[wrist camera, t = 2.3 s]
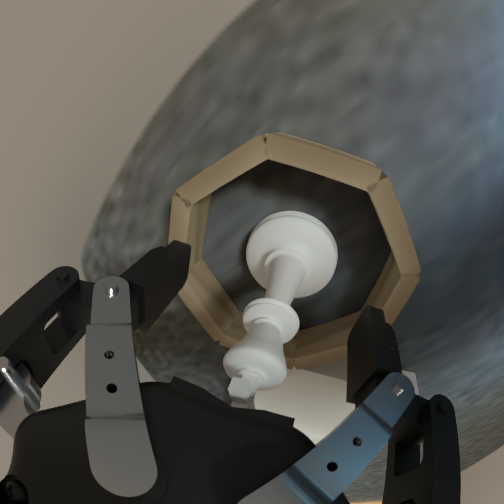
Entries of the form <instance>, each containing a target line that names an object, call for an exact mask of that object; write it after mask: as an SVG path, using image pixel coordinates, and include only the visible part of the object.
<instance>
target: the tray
mask: <svg viewBox="0 0 504 504" xmlns="http://www.w3.org/2000/svg"><path fill="white" fill-rule="evenodd" d="M402 374H404V375H405V376H407V377H408V378H409V379H410V380H411V382H412V383H413V386H414V389H415V394H417V395H419V393H418V387H417V381H416V375H415V373H414V372H409V371H405V370H402ZM346 392H347V358H344V359H340V360H337V361H333V362H329V363H325V364H321V365H317V366H313V367H308V368H304V369H300V370H297V369H296V368H295V366H293V368H292V370H291V369H287V375H286V379H285V381H284V382H283V383H282V384H281V385H280V386H278V387H276V388H274V389H270V390H257V391H256V394H255V397H254V405H255V409H257V410H266V411H270V412H273V413H277V414H280V415H284V416H288V417H292V418H295V421H294V425H293V427H294V428H296V429H298V430H299V431H301V432H303V433H304V434H305V435H306V436H307V437H309V439H310V440H311V441H312V442H313V443H314V444H315V445H316V444H317V443H318V442H319V441H320V440H322V439H323V438H324V437H325V436H326V435H327V434H329V433H330V432H331V431H332V430H333V429H334V428H335V427H336V426H337V425H339V424H340V423H341V422H342V421H343V420H344V419H345V418H346V417H347V416H348V415H349V414H350V413H351V412H352V411H353V410H354V409H355V404H352V403H347V402H346Z"/></svg>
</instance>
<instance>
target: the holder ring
mask: <svg viewBox="0 0 504 504" xmlns="http://www.w3.org/2000/svg"><path fill="white" fill-rule="evenodd" d="M267 159H270V160H273V161H277V162H280V163H284V164H287V165H290V166H294V167H297V168H300V169H304V170H307V171H310V172H313V173H316V174H319V175H322V176H325V177H328V178H331V179H334V180H337V181H340V182H343V183H345V184H348V185H351V186H354V187H356V188H359V189H362V190H364V191H367V193H368V195H369V197H370V200H371V202H372V204H373V206H374V209H375V211H376V213H377V216H378V218H379V221H380V223H381V225H382V228H383V230H384V233H385V235H386V238H387V241H388V243H389V246H390V249H391V251H392V252H391V254H390V256H389V258H388V260H387V262H386V264H385V266H384V268H383V270H382V272H381V274H380V276H379V278H378V280H377V282H376V284H375V285H374V287H373V289H372V291H371V293H370V295H369V296H368V298H367V300H366V302H365V304H364V305H363V307H362V309H361V311H358V312H355V313H353V314H350V315H347V316H344V317H341V318H338V319H335V320H332V321H329V322H326V323H322V324H319V325H316V326H313V327H310V328H306V329H303V330H300V331H299V330H298V331H297V333H296V334H295V336H294V337H293V338H292V339H291V340H290V341H288V342H286V343H284V344H283V353H284V357H285V360H286V366H287V369H291V370H292V368H293V366H295V368H296V369H297V370H300V369H304V368H308V367H313V366H317V365H321V364H325V363H329V362H333V361H337V360H340V359H344V358H347V341H348V336H349V334H350V331H351V329H352V328H353V326H354V324H355V323H356V321H357V319H358V318H359V316H360V314H361V313H362V311H363V309H364V308H365V307H366V306H367V305H370V306H373V307H376V308H379V309H382V310H383V311H384V316H385V321H386V323H389V324H390V325H391V326H392V324H393V323H394V321H395V320H396V318H397V317H398V315H399V314H400V312H401V310H402V309H403V307H404V306H405V304H406V303H407V301H408V299H409V298H410V296H411V294H412V293H413V291H414V289H415V288H416V286H417V284H418V282H419V281H420V279H421V278H420V276H419V274H418V273H420V272H422V271H421V267H420V264H419V260H418V257H417V254H416V250H415V247H414V244H413V241H412V238H411V235H410V232H409V229H408V226H407V223H406V220H405V218H404V215H403V212H402V209H401V207H400V204H399V202H398V199H397V197H396V194H395V192H394V189H393V187H392V185H391V182H390V180H389V178H388V176H387V175H386V174H385V173H383V172H382V170H381V169H379V168H378V167H377V166H376V165H375V164H374V163H372V162H370V161H368V160H365V159H362V158H360V157H357V156H354V155H351V154H349V153H346V152H343V151H340V150H337V149H334V148H331V147H328V146H325V145H322V144H319V143H316V142H312V141H309V140H306V139H302V138H299V137H295V136H292V135H288V134H285V133H281V132H276V133H268V134H261V135H258V136H257V137H255V138H253V139H252V140H250V141H248V142H247V143H245V144H244V145H242V146H240V147H239V148H237V149H236V150H234V151H232V152H231V153H229V154H228V155H226V156H225V157H223V158H221V159H220V160H218V161H217V162H215V163H214V164H212V165H211V166H209V167H208V168H206V169H205V170H204V171H202V172H201V173H199V174H198V175H196V176H195V177H193V178H192V179H191V180H189V181H188V182H186V183H185V184H183V185H182V186H181V187H179V188H178V189H177V190H176V191H177V194H175V195H173V197H172V206H171V216H170V227H169V240H168V245H169V244H170V243H171V242H172V241H173V240H178V241H181V242H183V243H186V244H189V245H191V256H190V264H189V273H188V278H187V280H186V283H185V285H184V286H183V288H182V289H181V290H180V291H179V292H178V295H179V297H180V298H181V299H182V301H183V302H184V303H185V305H186V306H187V307H188V309H189V310H190V311H191V312H192V314H193V315H194V316H195V318H196V319H197V320H198V322H199V323H200V324H201V325H202V327H203V328H204V329H205V330H206V332H207V333H208V334H209V335H210V337H211V338H212V339H213V340H214V342H215V341H219V340H220V343H219V345H221V346H224V347H226V348H229V349H230V348H231V347H232V346H233V345H235V344H236V343H237V342H239V341H240V340H241V339H242V338H243V337H244V336H245V335H246V334H247V331H246V330H245V328H244V325H243V311H240V310H238V309H237V307H236V306H235V305H234V303H233V302H232V300H231V299H230V298H229V296H228V295H227V293H226V292H225V290H224V289H223V288H222V286H221V285H220V283H219V282H218V280H217V279H216V277H215V276H214V275H213V273H212V272H211V270H210V269H209V267H208V266H207V264H206V263H205V261H204V260H203V258H202V252H203V245H204V239H205V232H206V226H207V220H208V214H209V208H210V202H211V196H212V192H213V191H215V190H216V189H218V188H220V187H221V186H223V185H225V184H226V183H228V182H229V181H231V180H233V179H234V178H236V177H238V176H239V175H241V174H243V173H244V172H246V171H248V170H250V169H251V168H253V167H255V166H256V165H258V164H260V163H262V162H263V161H265V160H267Z"/></svg>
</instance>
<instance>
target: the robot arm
mask: <svg viewBox="0 0 504 504" xmlns="http://www.w3.org/2000/svg"><path fill="white" fill-rule="evenodd" d="M190 256H191V245H189V244H186V243H183V242H181V241H178V240H173V241H172V242H171V243H170V244H169V245H167V246H166V247H162V246H161V247H158V248H155V249H152V250H150V251H149V252H148V253H147V254H146V255H144V257H142V258H141V259H139V261H137V262H136V263H135V264H133V265H132V266H131V267H130V268H129V269H127V270H126V271H125V272H124V273H123V274H122V275H120V276H119V277H118V276H107V277H103V278H101V279H99V280H98V281H97V282H96V283H92V282H87V281H82V280H80V279H79V274H78V271H77V270H76V269H75V268H73V267H69V266H63V267H58V268H56V269H54V270H53V271H51V272H50V273H49V274H47V275H46V276H45V277H44V278H43V279H41V280H40V281H39V282H38V283H37V284H35V285H34V286H33V287H32V288H31V289H29V290H28V291H27V292H26V293H25V294H24V295H23V296H21V297H20V298H19V299H18V300H17V301H16V302H15V303H14V304H13V305H12V306H10V307H9V308H8V309H7V310H6V311H5V312H4V313H3V314H2V315H1V316H0V425H1V426H2V427H3V429H5V430H6V432H7V433H8V434H9V435H10V436H12V437H13V438H14V446H13V456H12V461H11V465H10V468H9V471H8V474H7V475H6V476H5V478H4V479H3V480H2V481H1V482H0V504H350V503H349V502H348V500H347V498H346V497H345V495H344V493H343V491H344V490H345V489H346V488H347V487H348V486H349V485H350V484H351V483H352V482H353V481H354V480H355V479H356V477H357V476H358V475H359V474H360V473H361V472H362V471H363V470H364V469H365V468H366V466H367V465H368V464H369V463H370V462H371V461H372V460H373V458H374V457H375V456H376V455H377V454H378V452H379V451H380V450H381V449H382V447H383V446H384V445H385V444H386V442H387V441H388V457H387V469H386V479H385V487H384V495H383V501H382V504H460V492H461V489H460V488H461V483H460V481H461V478H460V455H459V443H458V433H457V425H456V418H455V411H454V407H453V405H452V403H451V401H450V400H449V399H448V398H447V397H445V396H444V395H441V394H437V395H434V396H433V397H432V398H431V399H430V400H427V399H425V398H423V397H421V396H419V395H417V394H415V389H414V386H413V383H412V382H411V380H410V379H409V378H408V377H407V376H405V375H404V374H402V368H401V362H400V357H399V351H398V346H397V343H396V342H397V341H396V336H395V332H394V330H393V329H392V327H391V325H390V324H389V323H386V321H385V316H384V311H383V310H382V309H379V308H376V307H373V306H370V305H367V306H366V307H365V308H364V309H363V311H362V313H361V314H360V316H359V318H358V319H357V321H356V323H355V324H354V326H353V328H352V329H351V331H350V334H349V336H348V341H347V392H346V402H347V403H352V404H355V409H354V410H353V411H352V412H351V413H350V414H349V415H348V416H347V417H346V418H345V419H344V420H343V421H342V422H341V423H340V424H339V425H337V426H336V427H335V428H334V429H333V430H332V431H331V432H330V433H329V434H327V435H326V436H325V437H324V438H323V439H322V440H320V441H319V442H318V443H317V444H316V445H315V444H314V443H313V442H312V441H311V440H310V439H309V437H307V436H306V435H305V434H304V433H303V432H301V431H299V430H298V429H296V428H294V427H293V425H294V421H295V418H292V417H288V416H284V415H280V414H277V413H273V412H270V411H266V410H257V409H247V408H237V407H232V406H229V405H228V404H226V403H224V402H223V401H221V400H220V399H218V398H217V397H215V396H214V395H212V394H211V393H209V392H208V391H206V390H205V389H203V388H201V387H199V386H196V385H194V384H191V383H189V382H187V381H184V380H182V379H180V378H178V377H175V376H174V377H173V379H172V381H171V382H170V383H165V382H144V383H140V380H139V375H138V368H137V361H136V353H135V345H134V336H133V333H134V332H135V330H136V329H137V328H139V329H141V330H143V331H145V332H147V330H148V329H149V328H150V327H151V325H152V324H153V323H154V322H155V320H156V319H157V318H158V317H159V316H160V314H161V313H162V312H163V311H164V309H165V308H166V307H167V306H168V305H169V303H170V302H171V301H172V300H173V298H174V297H175V296H176V295H177V294H178V292H179V291H180V290H181V289H182V288H183V286H184V285H185V283H186V280H187V278H188V273H189V264H190ZM56 313H57V314H58V317H57V318H56V319H55V320H54V321H53V322H52V323H51V324H50V325H49V326H48V327H47V328H46V329H45V330H44V327H45V325H46V323H47V322H48V321H49V320H50V319H51V318H52V317H53V316H54V315H55V314H56ZM85 333H86V341H85V395H86V400H82V401H79V402H75V403H71V404H67V405H63V406H59V407H55V408H51V409H46V410H41V411H38V410H39V409H40V401H41V390H40V389H41V388H42V386H43V385H44V384H45V383H46V381H47V380H48V379H49V377H50V376H51V375H52V374H53V372H54V371H55V370H56V368H57V367H58V366H59V365H60V363H61V362H62V361H63V360H64V358H65V357H66V356H67V355H68V354H69V352H70V351H71V350H72V349H73V347H74V346H75V345H76V344H77V343H78V341H79V340H80V339H81V338H82V337H83V336H84V335H85ZM422 442H423V460H422V462H421V464H420V444H421V443H422Z"/></svg>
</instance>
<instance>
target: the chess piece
mask: <svg viewBox="0 0 504 504" xmlns="http://www.w3.org/2000/svg"><path fill="white" fill-rule="evenodd" d="M246 260H247V265H248V268H249V270H250V272H251V274H252V276H253V277H254V279H255V280H256V281H257V282H258V283H259V284H260V285H261V286H262V287H263V288H265V289H266V294H265V298H260V299H256V300H254V301H252V302H250V303H249V304H248V305H247V306H246V308H245V309H244V312H243V325H244V328H245V330H246V331H247V334H246V335H245V336H244V337H243V338H242V339H241V340H240V341H239V342H237V343H236V344H235V345H233V346H232V347H231V348H230V349H229V350H228V351H227V353H226V354H225V356H224V358H223V367H224V370H225V372H226V373H227V375H228V376H229V377H230V378H231V379H232V380H231V382H230V385H229V387H228V391H229V394H230V397H231V400H232V403H231V405H230V406H232V407H237V408H247V409H255V405H254V397H255V394H256V391H257V390H270V389H274V388H276V387H278V386H280V385H281V384H282V383H283V382H284V381H285V379H286V375H287V366H286V360H285V357H284V353H283V344H284V343H286V342H288V341H290V340H291V339H292V338H293V337H294V336H295V334H296V333H297V331H298V329H299V324H300V323H299V318H298V315H297V313H296V312H295V310H294V309H293V308H292V307H291V306H290V305H291V302H292V300H293V298H302V297H306V296H310V295H312V294H315V293H316V292H318V291H320V290H321V289H322V288H324V287H325V286H326V285H327V284H328V282H329V281H330V280H331V278H332V276H333V274H334V272H335V268H336V265H337V260H338V249H337V245H336V241H335V239H334V237H333V235H332V233H331V232H330V230H329V229H328V228H327V227H326V226H325V225H324V224H323V223H322V222H321V221H319V220H318V219H316V218H315V217H313V216H311V215H309V214H306V213H302V212H298V211H282V212H277V213H274V214H272V215H269V216H267V217H266V218H264V219H263V220H262V221H260V222H259V223H258V224H257V225H256V227H255V228H254V229H253V231H252V233H251V235H250V237H249V241H248V244H247V248H246Z"/></svg>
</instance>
